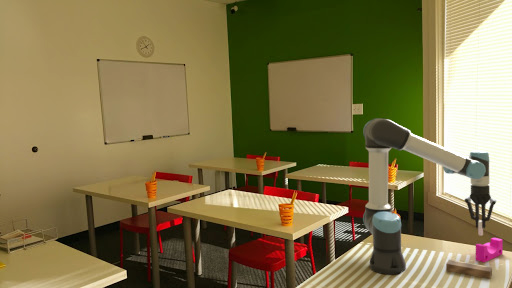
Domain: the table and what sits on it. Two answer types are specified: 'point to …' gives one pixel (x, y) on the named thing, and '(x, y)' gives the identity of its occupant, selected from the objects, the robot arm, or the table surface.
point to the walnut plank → (469, 269)
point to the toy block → (489, 250)
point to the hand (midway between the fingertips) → (480, 234)
